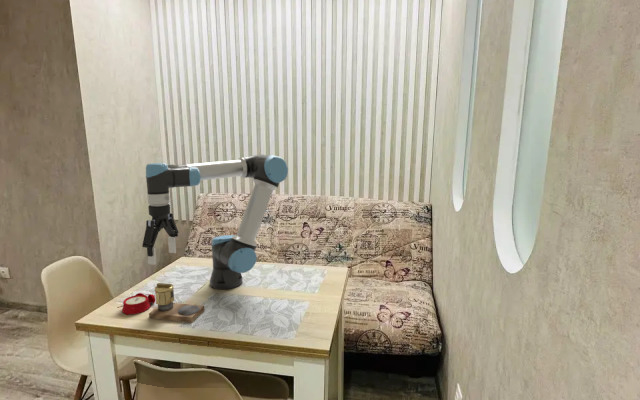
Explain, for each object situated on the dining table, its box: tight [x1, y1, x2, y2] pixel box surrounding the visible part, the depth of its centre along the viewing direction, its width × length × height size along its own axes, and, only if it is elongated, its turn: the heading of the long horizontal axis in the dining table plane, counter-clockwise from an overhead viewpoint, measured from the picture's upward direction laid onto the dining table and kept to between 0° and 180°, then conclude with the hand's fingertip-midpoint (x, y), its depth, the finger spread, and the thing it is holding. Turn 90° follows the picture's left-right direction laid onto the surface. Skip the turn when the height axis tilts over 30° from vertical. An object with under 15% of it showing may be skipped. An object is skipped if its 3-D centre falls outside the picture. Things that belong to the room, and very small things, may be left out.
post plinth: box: [148, 301, 206, 323], centre depth 146 cm, size 18×10×10 cm, turn 79°
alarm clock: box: [117, 292, 156, 316], centre depth 152 cm, size 10×6×15 cm
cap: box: [154, 282, 175, 306], centre depth 146 cm, size 7×7×7 cm
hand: (162, 258), depth 143 cm, fingers open, 13 cm apart
